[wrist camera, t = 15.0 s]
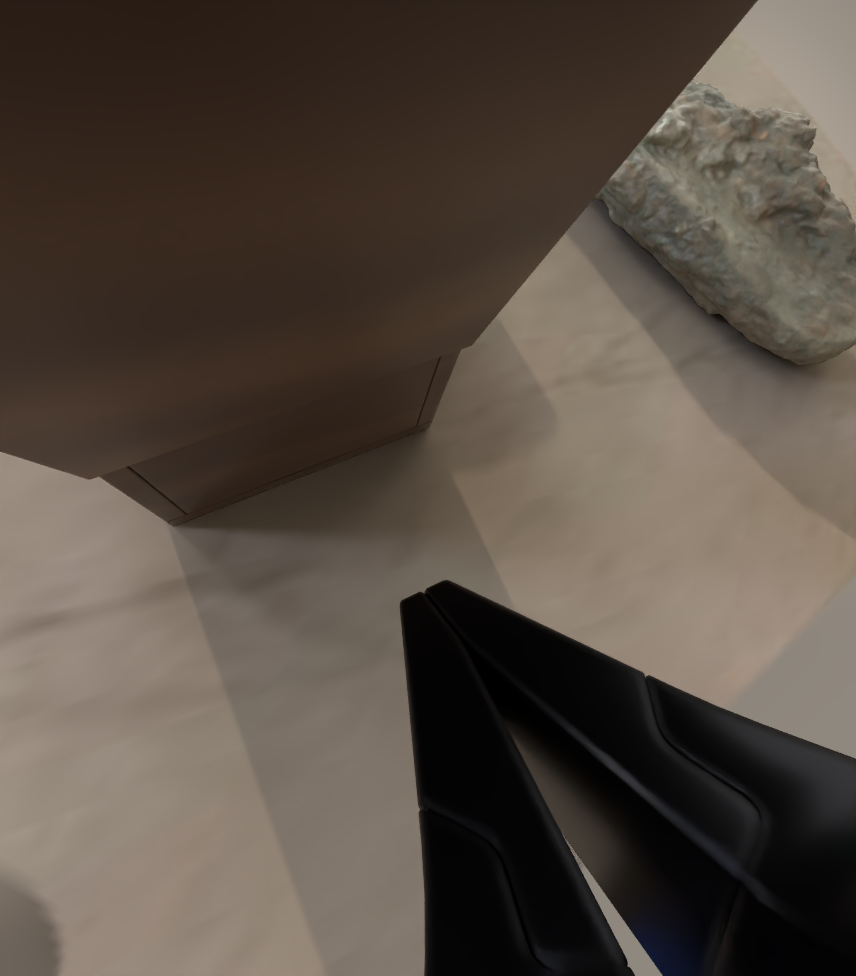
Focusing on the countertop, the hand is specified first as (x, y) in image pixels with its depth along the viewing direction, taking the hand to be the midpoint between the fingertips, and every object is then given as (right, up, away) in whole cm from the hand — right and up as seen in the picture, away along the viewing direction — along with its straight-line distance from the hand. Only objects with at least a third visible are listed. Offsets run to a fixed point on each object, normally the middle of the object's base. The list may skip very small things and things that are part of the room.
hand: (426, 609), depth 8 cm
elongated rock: (+10, +22, +23) cm, 33 cm away
